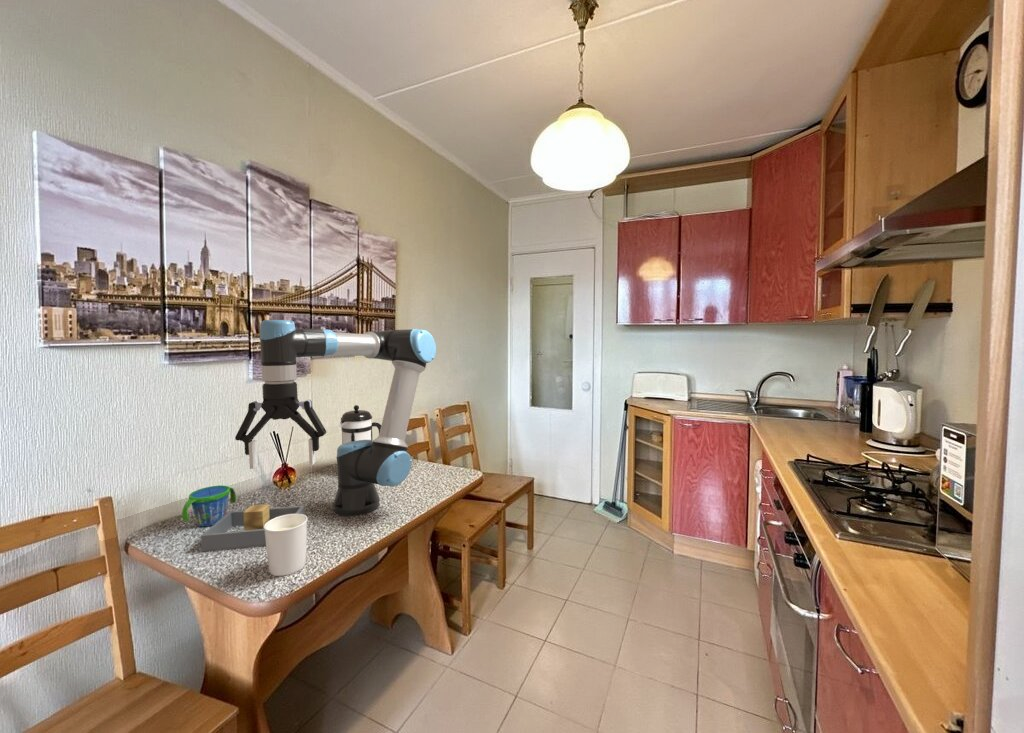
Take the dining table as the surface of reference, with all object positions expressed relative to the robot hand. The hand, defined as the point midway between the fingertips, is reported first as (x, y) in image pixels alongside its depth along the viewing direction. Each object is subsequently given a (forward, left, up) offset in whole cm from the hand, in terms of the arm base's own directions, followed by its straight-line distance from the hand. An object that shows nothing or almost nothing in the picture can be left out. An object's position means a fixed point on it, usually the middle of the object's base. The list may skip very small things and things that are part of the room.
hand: (283, 465), depth 101 cm
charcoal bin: (+15, -21, -27) cm, 37 cm away
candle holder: (0, 0, -27) cm, 27 cm away
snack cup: (+33, -33, -27) cm, 54 cm away
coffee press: (-6, -74, -27) cm, 79 cm away
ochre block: (+15, -21, -27) cm, 37 cm away
